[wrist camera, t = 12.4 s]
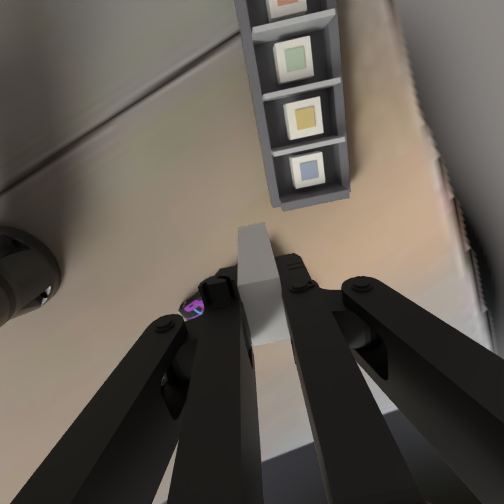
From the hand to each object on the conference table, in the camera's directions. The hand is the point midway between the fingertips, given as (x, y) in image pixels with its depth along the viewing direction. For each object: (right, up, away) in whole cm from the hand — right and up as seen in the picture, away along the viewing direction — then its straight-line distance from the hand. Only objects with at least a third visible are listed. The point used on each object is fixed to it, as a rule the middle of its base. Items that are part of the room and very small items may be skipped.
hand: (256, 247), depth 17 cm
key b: (+8, +13, +29) cm, 33 cm away
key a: (+5, +25, +24) cm, 35 cm away
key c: (+4, +31, +21) cm, 38 cm away
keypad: (+6, +22, +26) cm, 35 cm away
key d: (+7, +18, +25) cm, 31 cm away
